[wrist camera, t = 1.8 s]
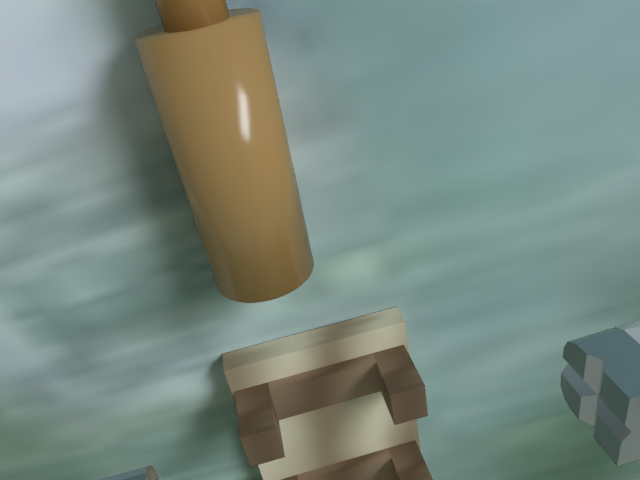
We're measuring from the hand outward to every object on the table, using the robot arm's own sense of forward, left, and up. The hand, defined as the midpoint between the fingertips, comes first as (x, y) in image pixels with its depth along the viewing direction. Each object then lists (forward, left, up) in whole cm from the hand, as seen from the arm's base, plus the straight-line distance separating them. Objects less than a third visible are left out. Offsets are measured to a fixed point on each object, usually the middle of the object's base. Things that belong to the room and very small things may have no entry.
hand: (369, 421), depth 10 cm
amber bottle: (0, -2, -18) cm, 18 cm away
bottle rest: (0, +21, -19) cm, 28 cm away
